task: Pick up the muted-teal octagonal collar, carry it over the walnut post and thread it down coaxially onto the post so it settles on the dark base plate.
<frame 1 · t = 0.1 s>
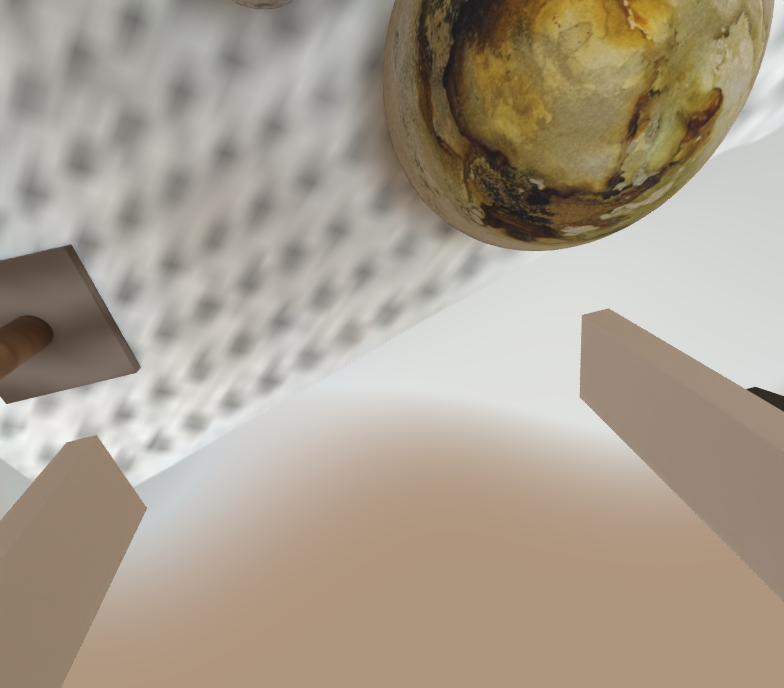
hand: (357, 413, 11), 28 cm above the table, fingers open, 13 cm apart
decorative sphere: (487, 97, 33), on the table
post stand: (40, 326, 36), on the table
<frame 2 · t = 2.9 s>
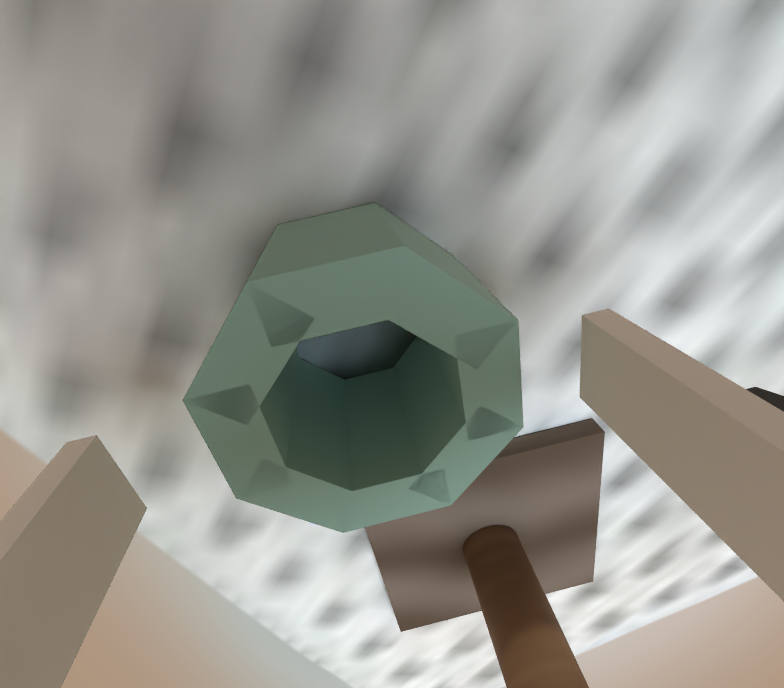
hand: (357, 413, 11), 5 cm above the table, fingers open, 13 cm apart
collar: (354, 320, 16), on the table
post stand: (483, 528, 23), on the table
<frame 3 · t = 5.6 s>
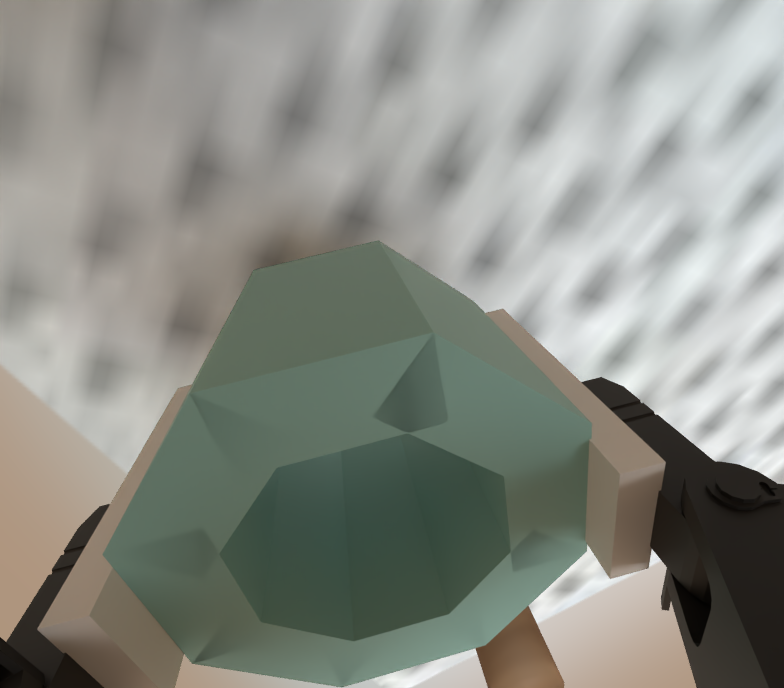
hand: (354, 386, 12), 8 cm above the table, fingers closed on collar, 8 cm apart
collar: (353, 382, 13), point 8 cm above the table, touching gripper
post stand: (450, 493, 26), on the table
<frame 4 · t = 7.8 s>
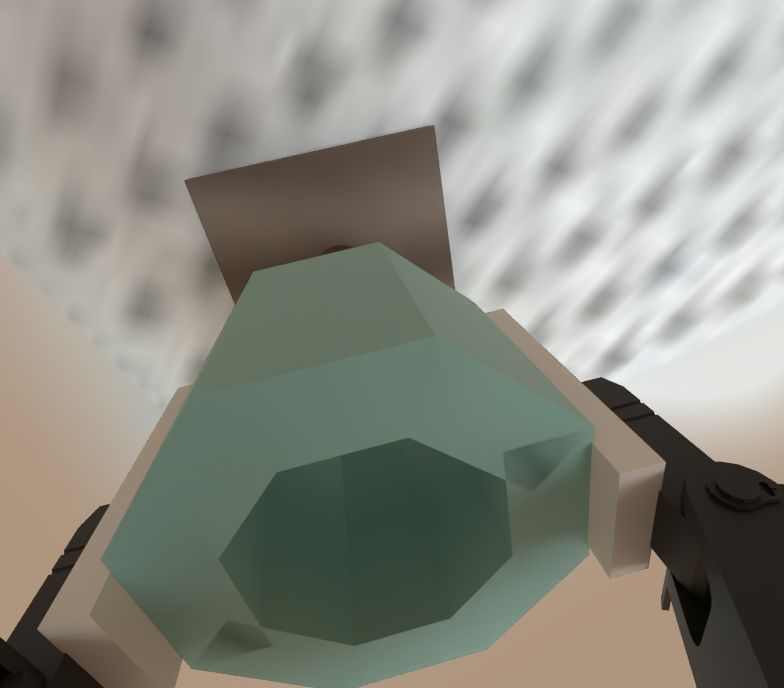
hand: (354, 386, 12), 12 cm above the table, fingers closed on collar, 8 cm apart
collar: (353, 383, 13), point 12 cm above the table, touching gripper
post stand: (341, 267, 23), on the table
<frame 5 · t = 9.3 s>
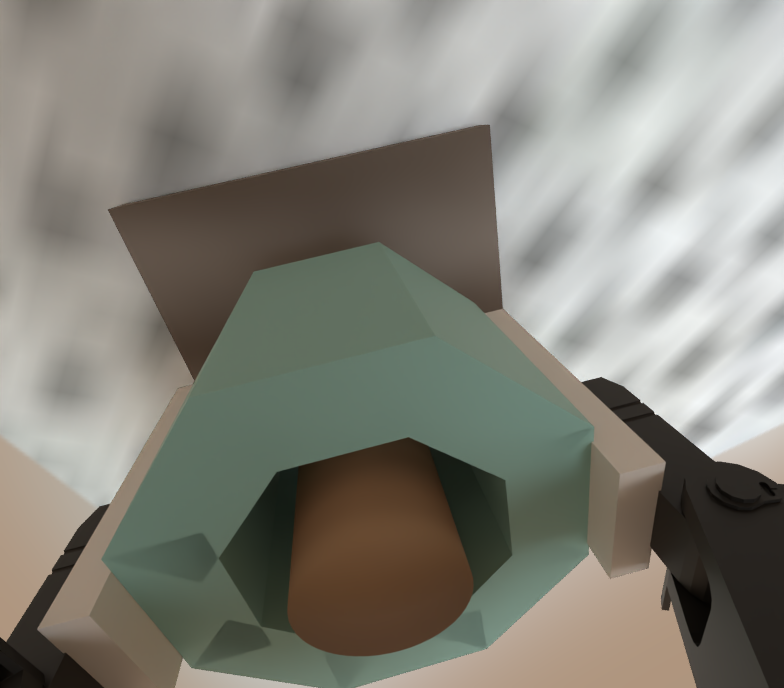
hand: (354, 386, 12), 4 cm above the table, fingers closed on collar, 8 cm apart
collar: (353, 383, 13), point 4 cm above the table, touching gripper
post stand: (347, 325, 16), on the table
when the fingers open (3 cm above the table, at t = 10.5 s): collar drops 2 cm, resting on post stand.
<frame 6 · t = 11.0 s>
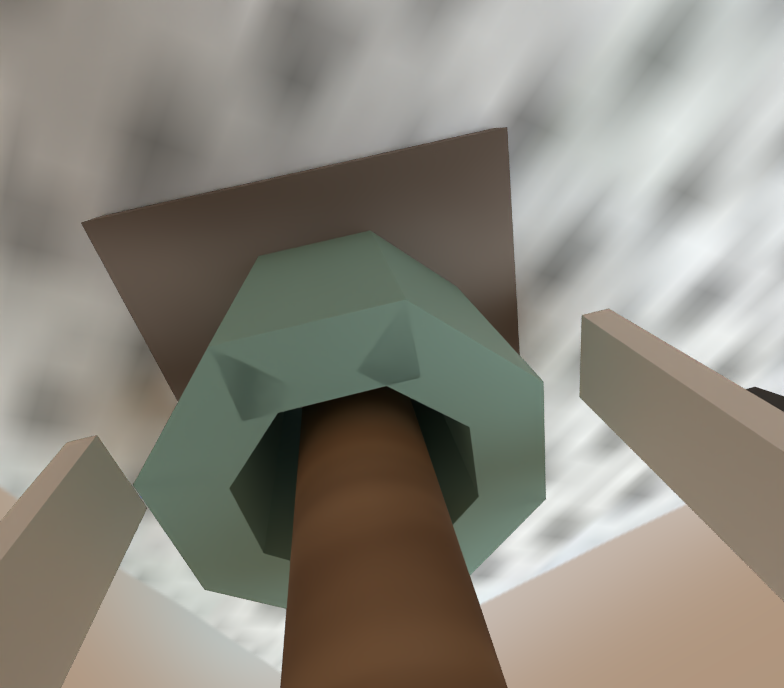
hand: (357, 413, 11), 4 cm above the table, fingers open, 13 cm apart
collar: (347, 359, 14), point 1 cm above the table, touching post stand
post stand: (349, 345, 15), on the table
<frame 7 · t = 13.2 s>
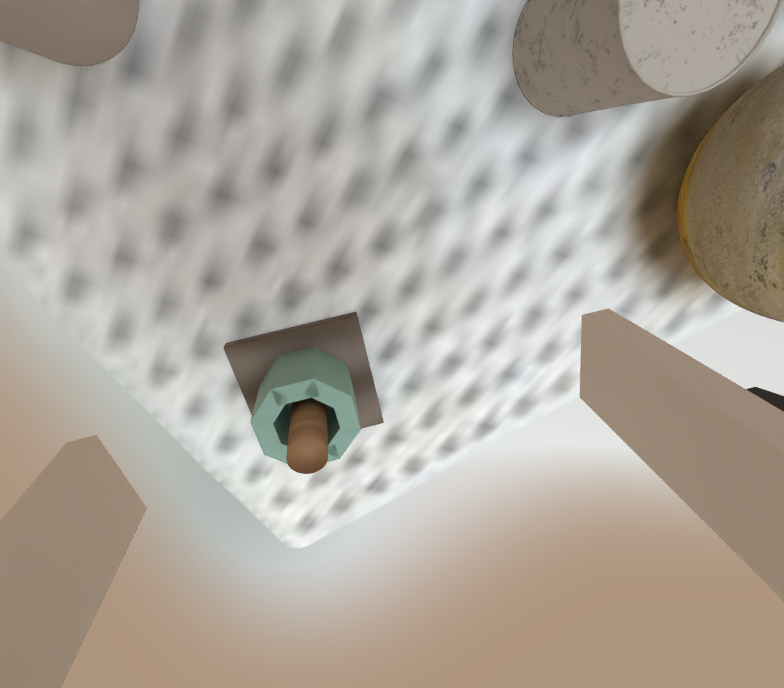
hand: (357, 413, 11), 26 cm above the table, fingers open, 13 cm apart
collar: (308, 388, 39), point 1 cm above the table, touching post stand
beige speckled cylinder: (569, 47, 32), on the table
decorative sphere: (720, 182, 38), on the table
post stand: (310, 383, 40), on the table
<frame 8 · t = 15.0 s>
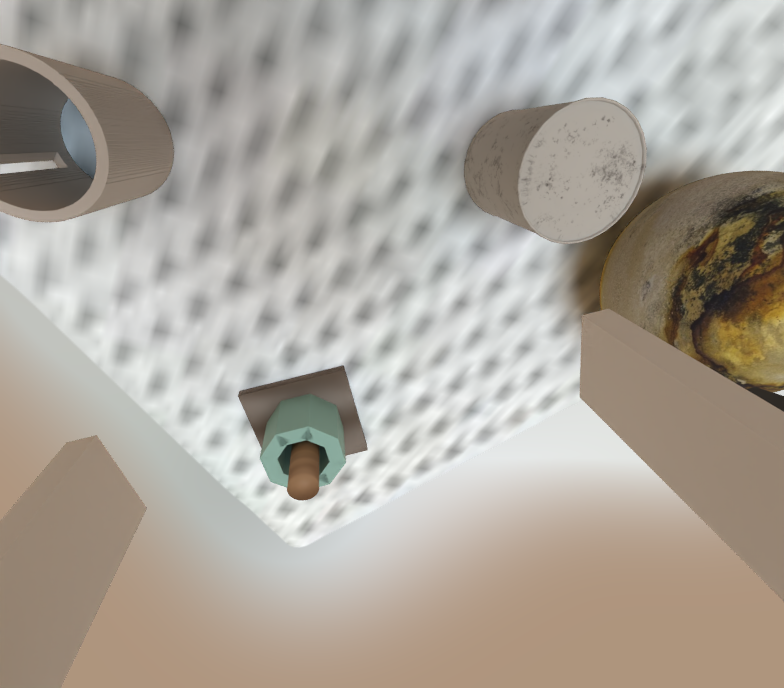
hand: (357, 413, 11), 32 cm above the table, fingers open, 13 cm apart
cup: (115, 140, 34), on the table
collar: (305, 425, 48), point 1 cm above the table, touching post stand
beige speckled cylinder: (510, 166, 40), on the table
decorative sphere: (643, 259, 47), on the table
post stand: (307, 419, 49), on the table
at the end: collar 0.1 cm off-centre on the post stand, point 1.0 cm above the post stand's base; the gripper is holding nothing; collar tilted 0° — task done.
